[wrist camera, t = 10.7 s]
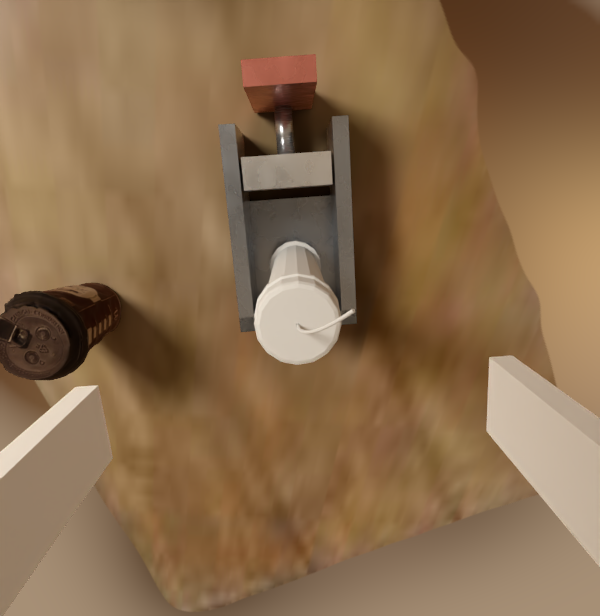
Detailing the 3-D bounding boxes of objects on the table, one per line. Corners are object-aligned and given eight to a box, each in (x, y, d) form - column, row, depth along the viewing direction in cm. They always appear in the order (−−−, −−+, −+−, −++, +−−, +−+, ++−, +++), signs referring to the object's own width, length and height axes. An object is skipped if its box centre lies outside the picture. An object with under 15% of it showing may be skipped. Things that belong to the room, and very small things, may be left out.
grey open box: (229, 135, 47) (218, 124, 40) (340, 127, 47) (348, 115, 40) (247, 314, 52) (240, 331, 45) (348, 307, 52) (356, 323, 45)
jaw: (241, 93, 45) (225, 60, 35) (321, 87, 45) (330, 53, 35) (251, 191, 48) (238, 189, 37) (326, 186, 48) (336, 182, 37)
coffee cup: (45, 285, 50) (-38, 314, 38) (109, 260, 50) (47, 280, 37) (80, 351, 52) (13, 400, 40) (143, 328, 52) (94, 369, 39)
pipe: (260, 263, 49) (214, 361, 20) (300, 223, 48) (312, 266, 19) (295, 297, 50) (298, 436, 21) (334, 259, 49) (394, 351, 20)
